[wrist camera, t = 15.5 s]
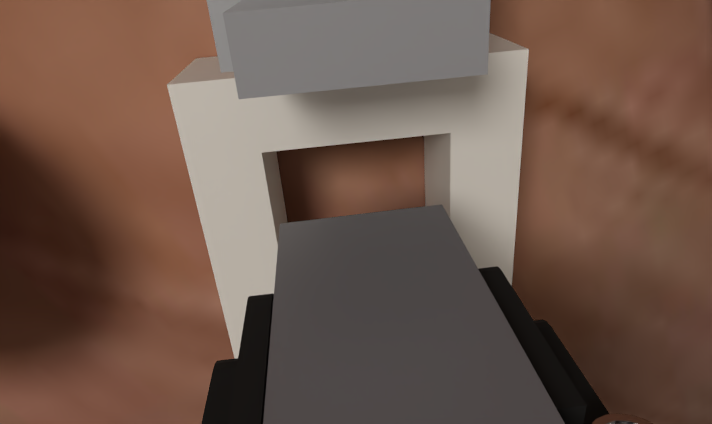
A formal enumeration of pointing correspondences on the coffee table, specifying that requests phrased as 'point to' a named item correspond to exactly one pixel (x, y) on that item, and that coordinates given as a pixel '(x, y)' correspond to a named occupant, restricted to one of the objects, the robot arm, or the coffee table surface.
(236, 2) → the plate with raised block
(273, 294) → the robot arm
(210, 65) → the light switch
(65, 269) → the coffee table surface
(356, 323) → the plug
